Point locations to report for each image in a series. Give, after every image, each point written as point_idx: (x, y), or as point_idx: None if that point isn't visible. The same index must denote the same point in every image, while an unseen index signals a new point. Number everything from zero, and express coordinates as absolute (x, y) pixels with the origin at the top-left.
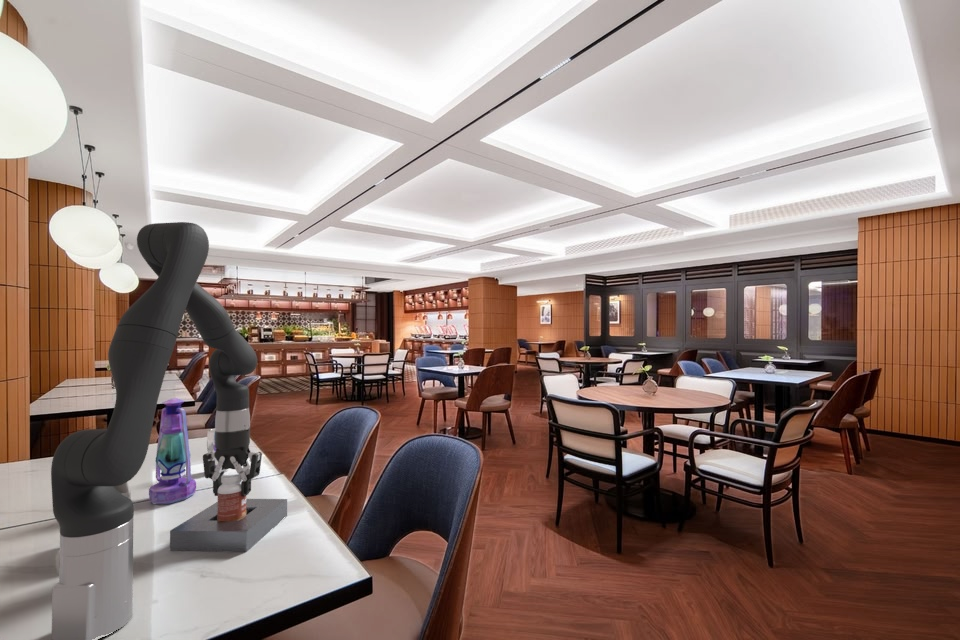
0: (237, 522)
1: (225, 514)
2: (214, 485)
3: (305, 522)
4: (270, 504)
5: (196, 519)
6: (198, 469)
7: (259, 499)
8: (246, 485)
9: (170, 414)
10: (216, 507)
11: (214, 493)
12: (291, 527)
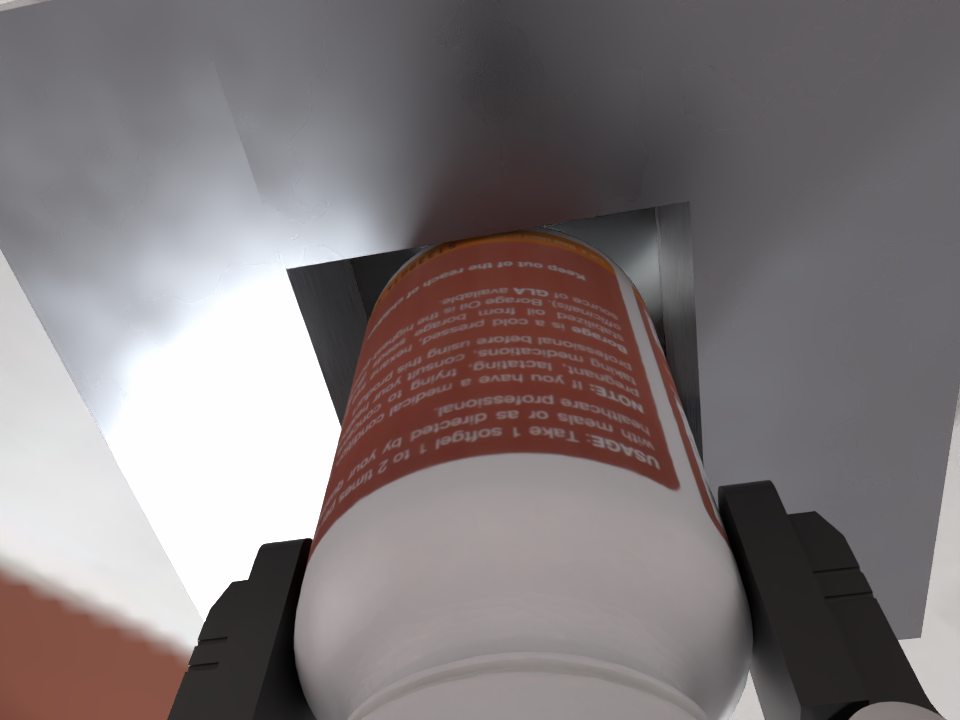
0: (260, 231)
1: (460, 281)
2: (855, 629)
3: (48, 530)
4: None
5: (873, 191)
6: None
7: None
8: (191, 702)
9: None
10: (842, 482)
11: (780, 500)
12: (77, 452)
